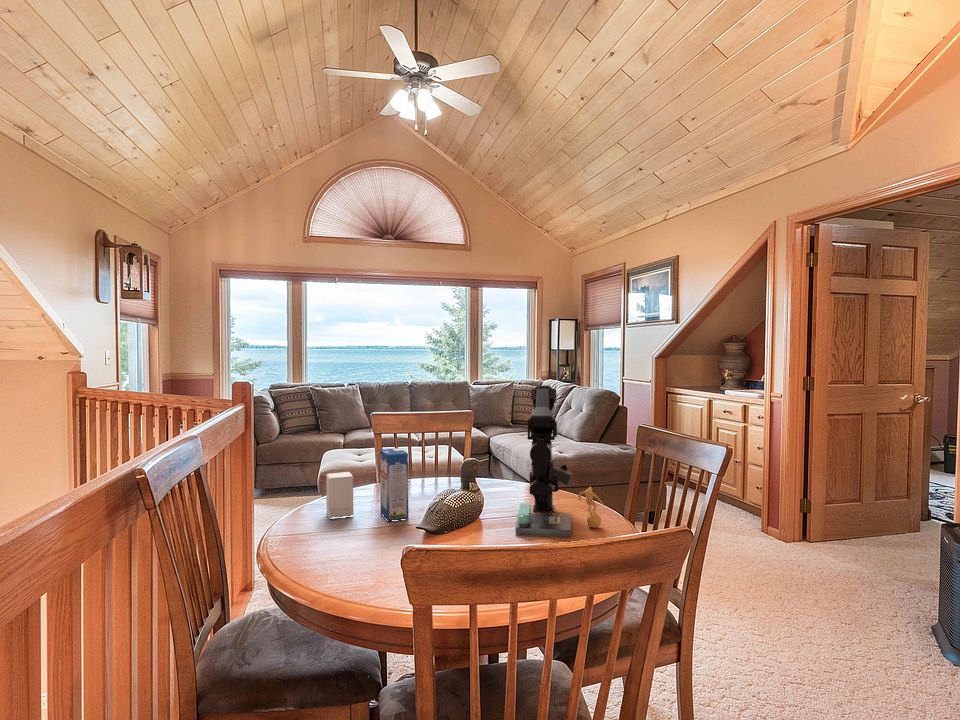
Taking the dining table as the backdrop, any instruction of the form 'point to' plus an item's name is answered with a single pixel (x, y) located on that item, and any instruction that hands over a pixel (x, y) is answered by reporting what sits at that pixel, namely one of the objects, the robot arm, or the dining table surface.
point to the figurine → (593, 518)
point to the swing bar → (524, 513)
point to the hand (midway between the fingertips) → (541, 511)
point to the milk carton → (394, 483)
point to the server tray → (546, 525)
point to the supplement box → (339, 494)
